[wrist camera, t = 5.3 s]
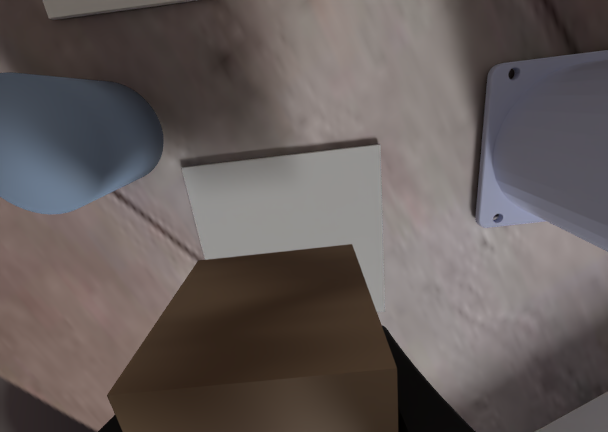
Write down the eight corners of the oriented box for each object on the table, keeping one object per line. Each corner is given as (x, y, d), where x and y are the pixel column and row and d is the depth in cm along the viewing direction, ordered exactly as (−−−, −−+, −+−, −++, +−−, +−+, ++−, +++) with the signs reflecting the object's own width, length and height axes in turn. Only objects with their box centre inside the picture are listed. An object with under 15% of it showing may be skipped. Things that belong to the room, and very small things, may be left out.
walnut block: (352, 244, 10) (397, 368, 5) (360, 365, 12) (400, 544, 7) (198, 260, 10) (107, 395, 5) (228, 378, 12) (178, 560, 7)
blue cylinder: (147, 74, 14) (74, 63, 10) (174, 175, 16) (122, 207, 11) (48, 87, 15) (-71, 82, 10) (84, 185, 16) (-3, 220, 12)
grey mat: (378, 144, 16) (380, 144, 15) (383, 308, 19) (385, 311, 19) (183, 166, 16) (181, 168, 16) (223, 324, 19) (222, 327, 19)
